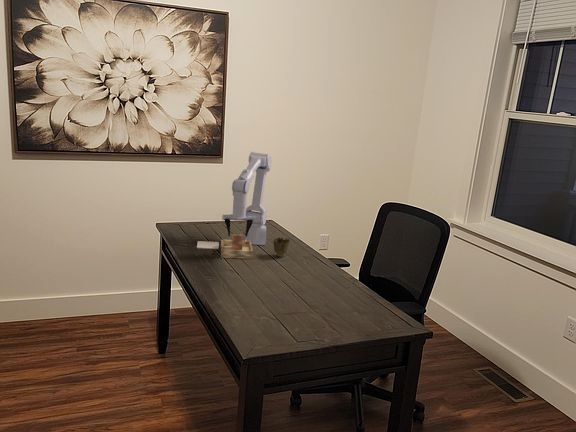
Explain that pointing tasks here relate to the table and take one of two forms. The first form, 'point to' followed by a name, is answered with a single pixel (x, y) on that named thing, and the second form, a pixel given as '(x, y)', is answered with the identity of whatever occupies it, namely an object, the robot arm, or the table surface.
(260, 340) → the table surface
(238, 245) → the terracotta block
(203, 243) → the grey mat
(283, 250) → the cup
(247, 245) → the organiser box
